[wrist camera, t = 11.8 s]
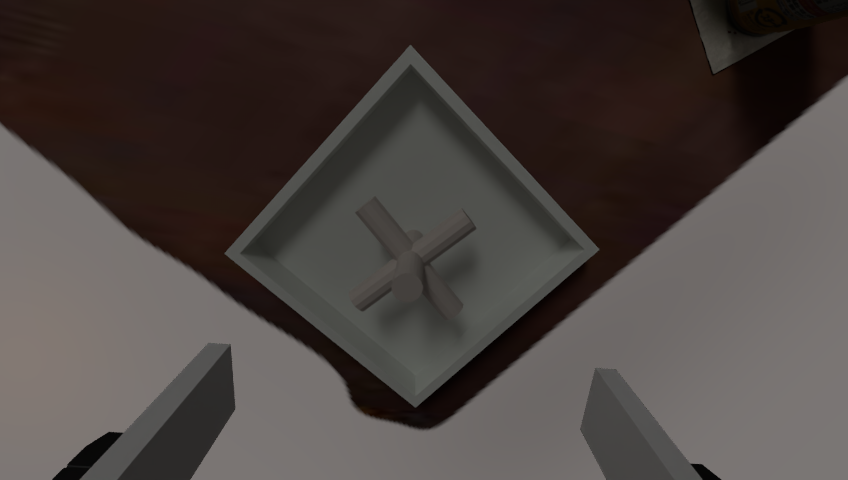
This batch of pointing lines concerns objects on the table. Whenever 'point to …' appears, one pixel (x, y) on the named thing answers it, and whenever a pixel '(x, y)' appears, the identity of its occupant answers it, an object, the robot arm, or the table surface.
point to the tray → (413, 210)
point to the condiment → (755, 24)
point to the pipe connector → (410, 260)
